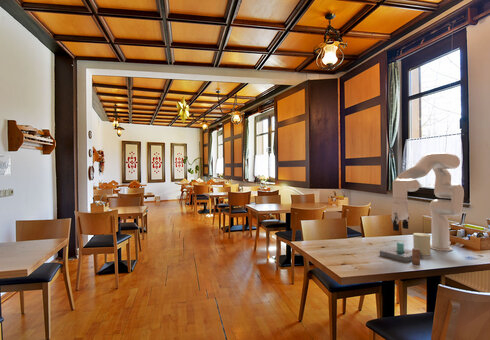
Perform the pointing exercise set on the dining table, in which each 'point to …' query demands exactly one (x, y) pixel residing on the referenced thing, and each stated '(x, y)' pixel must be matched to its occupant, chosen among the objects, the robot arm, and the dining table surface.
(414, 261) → the walnut peg
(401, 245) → the teal peg
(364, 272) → the dining table surface
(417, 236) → the can
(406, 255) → the socket plate
